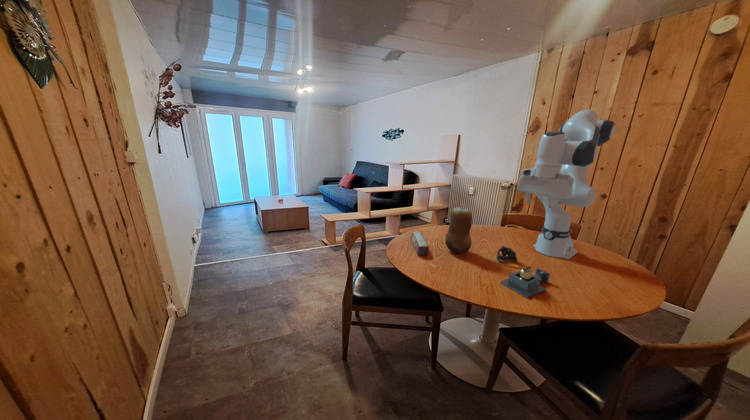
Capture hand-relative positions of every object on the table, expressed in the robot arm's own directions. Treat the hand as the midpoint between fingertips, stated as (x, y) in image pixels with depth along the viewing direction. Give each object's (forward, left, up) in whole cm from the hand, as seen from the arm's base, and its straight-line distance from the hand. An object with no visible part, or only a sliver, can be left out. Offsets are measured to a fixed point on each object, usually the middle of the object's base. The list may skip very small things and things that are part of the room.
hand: (539, 205), depth 104 cm
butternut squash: (+11, -32, -33) cm, 48 cm away
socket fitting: (+7, +6, -33) cm, 34 cm away
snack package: (+27, -44, -34) cm, 62 cm away
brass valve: (+11, +6, -32) cm, 34 cm away
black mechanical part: (-6, -14, -33) cm, 37 cm away
